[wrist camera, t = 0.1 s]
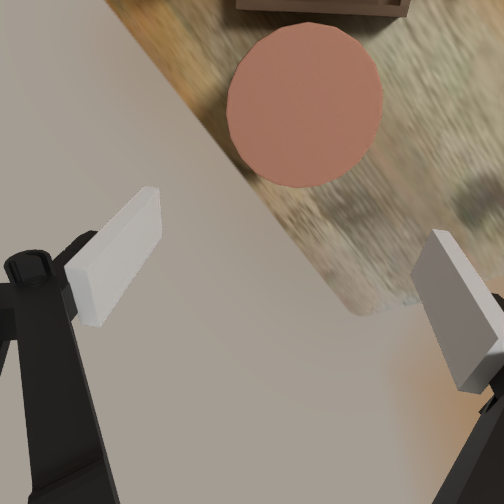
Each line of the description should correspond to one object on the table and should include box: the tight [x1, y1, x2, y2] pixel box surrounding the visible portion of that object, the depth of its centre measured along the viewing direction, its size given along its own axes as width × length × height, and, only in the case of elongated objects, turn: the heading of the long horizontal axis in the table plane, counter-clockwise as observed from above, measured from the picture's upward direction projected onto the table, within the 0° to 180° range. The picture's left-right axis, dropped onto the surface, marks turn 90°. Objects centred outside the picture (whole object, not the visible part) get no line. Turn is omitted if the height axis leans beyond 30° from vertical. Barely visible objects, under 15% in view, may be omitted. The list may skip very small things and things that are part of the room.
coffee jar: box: [226, 22, 383, 188], centre depth 30 cm, size 11×11×18 cm
